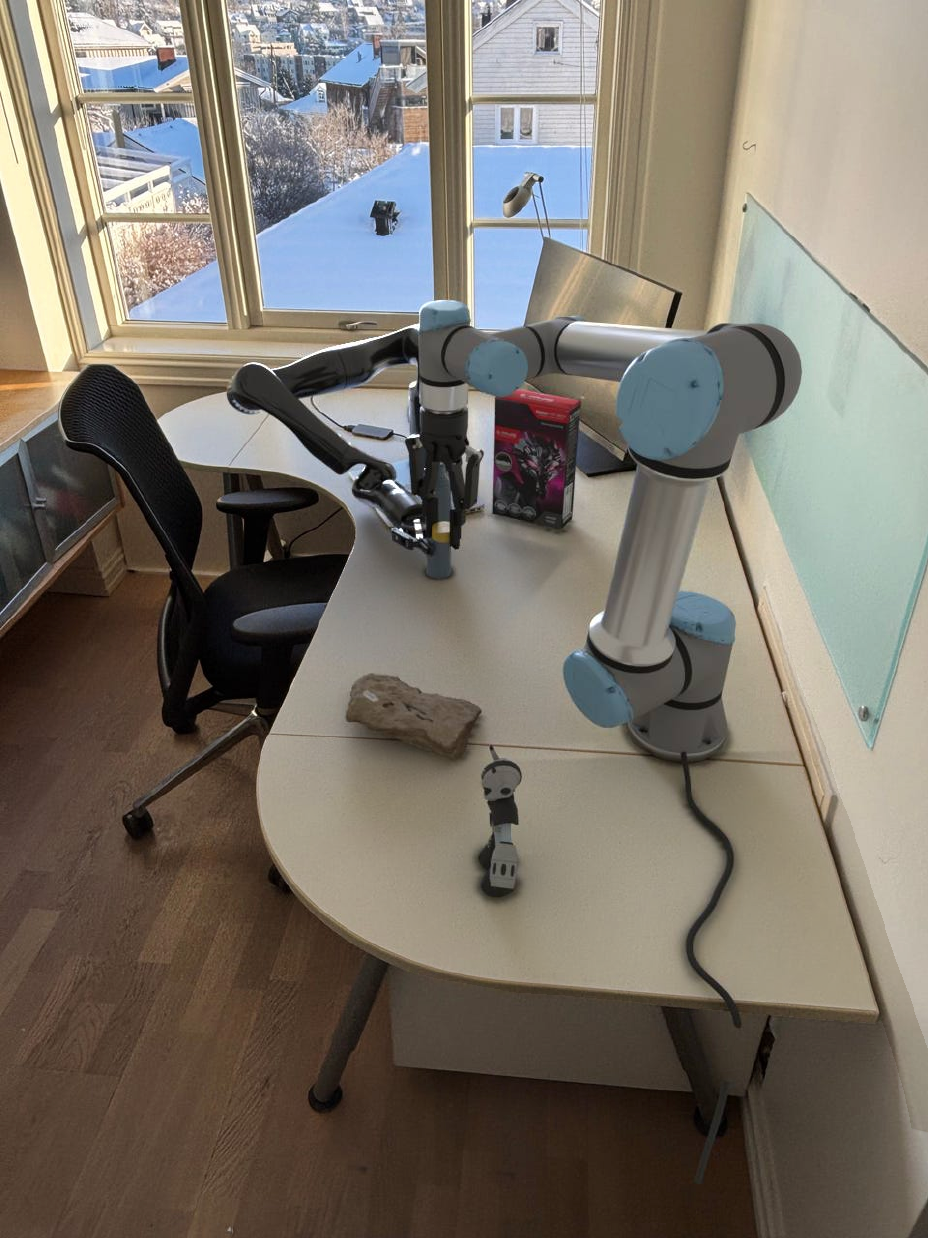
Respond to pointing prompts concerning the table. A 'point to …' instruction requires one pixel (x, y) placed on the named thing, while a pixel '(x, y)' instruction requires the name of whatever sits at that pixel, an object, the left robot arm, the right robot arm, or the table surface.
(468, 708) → the stone
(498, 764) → the robot
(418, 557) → the table surface
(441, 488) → the bottle
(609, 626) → the right robot arm
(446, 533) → the cap
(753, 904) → the table surface
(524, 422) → the graphics card box
